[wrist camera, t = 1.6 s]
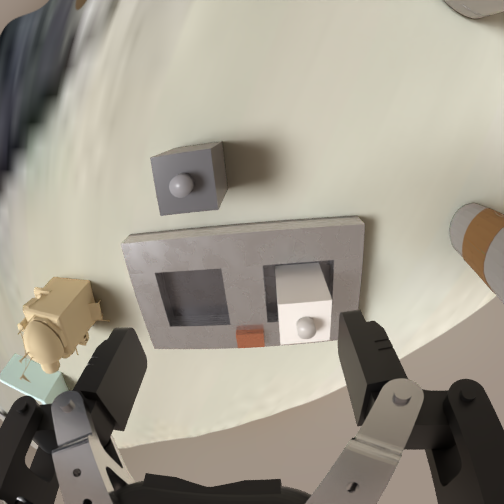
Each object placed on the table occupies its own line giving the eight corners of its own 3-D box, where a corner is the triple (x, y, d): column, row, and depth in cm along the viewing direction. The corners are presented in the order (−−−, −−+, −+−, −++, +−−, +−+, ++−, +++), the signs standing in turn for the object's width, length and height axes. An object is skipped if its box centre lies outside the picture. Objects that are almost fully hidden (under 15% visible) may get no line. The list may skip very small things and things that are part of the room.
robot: (55, 322, 37) (5, 391, 24) (40, 274, 34) (-26, 340, 20) (113, 331, 37) (68, 416, 23) (100, 280, 34) (36, 363, 20)
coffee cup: (498, 210, 28) (578, 263, 15) (470, 266, 32) (538, 335, 18) (459, 181, 27) (554, 231, 14) (429, 245, 31) (505, 322, 17)
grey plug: (175, 148, 27) (144, 160, 20) (222, 141, 27) (207, 150, 19) (181, 193, 29) (155, 220, 22) (227, 188, 29) (216, 214, 21)
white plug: (274, 265, 32) (278, 313, 24) (318, 262, 31) (334, 308, 24) (277, 302, 33) (281, 353, 26) (318, 299, 33) (331, 348, 26)
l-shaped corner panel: (15, 352, 42) (-3, 377, 35) (61, 371, 43) (44, 400, 36) (33, 390, 47) (19, 414, 40) (77, 408, 48) (64, 435, 41)
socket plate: (129, 234, 31) (117, 247, 28) (357, 215, 29) (367, 227, 26) (159, 335, 37) (152, 352, 34) (349, 324, 35) (356, 342, 32)
